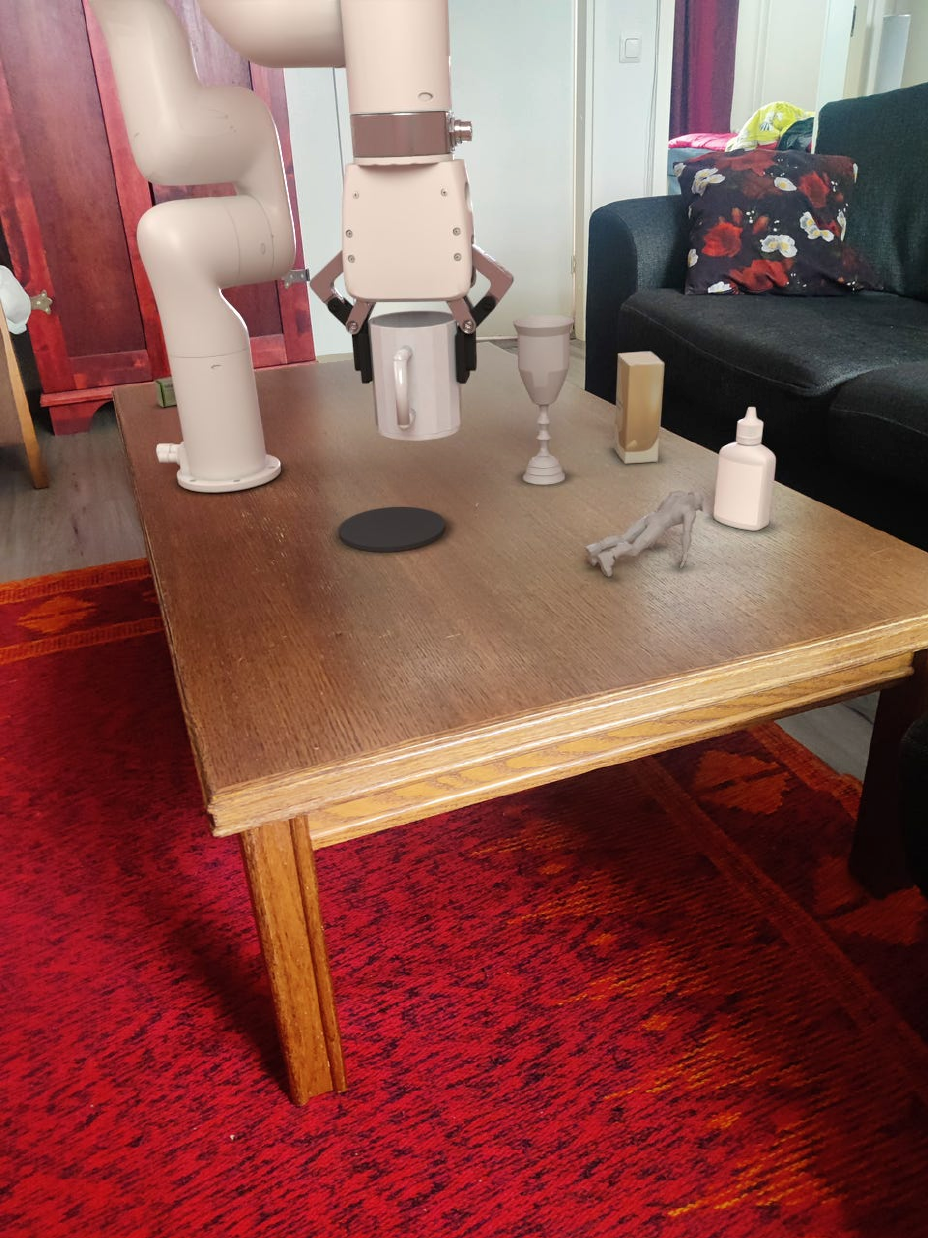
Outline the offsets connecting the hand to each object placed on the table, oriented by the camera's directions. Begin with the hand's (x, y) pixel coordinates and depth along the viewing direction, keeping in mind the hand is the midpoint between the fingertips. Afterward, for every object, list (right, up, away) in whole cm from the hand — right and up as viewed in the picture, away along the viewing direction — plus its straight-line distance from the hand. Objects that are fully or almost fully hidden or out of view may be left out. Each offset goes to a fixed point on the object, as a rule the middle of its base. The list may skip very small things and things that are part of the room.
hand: (416, 378), depth 79 cm
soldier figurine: (+21, -15, +12) cm, 28 cm away
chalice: (+14, -3, +34) cm, 37 cm away
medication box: (-39, +15, +75) cm, 86 cm away
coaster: (-4, -11, +21) cm, 24 cm away
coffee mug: (0, -5, +1) cm, 4 cm away
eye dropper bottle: (+33, -10, +19) cm, 39 cm away
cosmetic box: (+25, 0, +40) cm, 47 cm away
